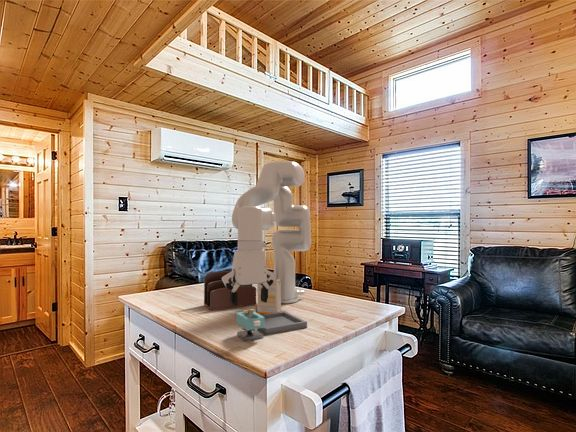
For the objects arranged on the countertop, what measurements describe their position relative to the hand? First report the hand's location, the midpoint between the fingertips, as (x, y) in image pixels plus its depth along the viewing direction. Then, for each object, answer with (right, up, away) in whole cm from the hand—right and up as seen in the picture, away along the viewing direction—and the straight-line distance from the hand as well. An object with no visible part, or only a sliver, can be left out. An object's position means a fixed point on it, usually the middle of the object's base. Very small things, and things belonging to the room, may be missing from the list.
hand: (249, 303), depth 100 cm
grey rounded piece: (0, -10, 0) cm, 10 cm away
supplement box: (+5, -11, +27) cm, 29 cm away
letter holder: (-13, -12, +39) cm, 43 cm away
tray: (+8, -10, +12) cm, 18 cm away
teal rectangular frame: (0, -7, 0) cm, 7 cm away
